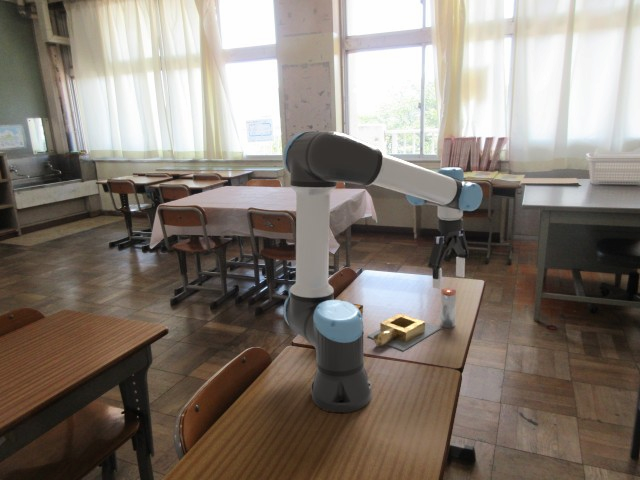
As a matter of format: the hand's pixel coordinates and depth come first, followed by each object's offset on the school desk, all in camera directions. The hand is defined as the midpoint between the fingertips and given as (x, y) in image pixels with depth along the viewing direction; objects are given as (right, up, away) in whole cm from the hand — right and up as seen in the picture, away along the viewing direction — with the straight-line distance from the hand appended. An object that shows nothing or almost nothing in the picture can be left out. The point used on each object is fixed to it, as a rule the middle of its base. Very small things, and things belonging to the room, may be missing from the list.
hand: (449, 282), depth 143 cm
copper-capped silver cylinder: (+1, -15, +4) cm, 15 cm away
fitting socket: (-18, -17, -3) cm, 25 cm away
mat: (-14, -16, 0) cm, 22 cm away
